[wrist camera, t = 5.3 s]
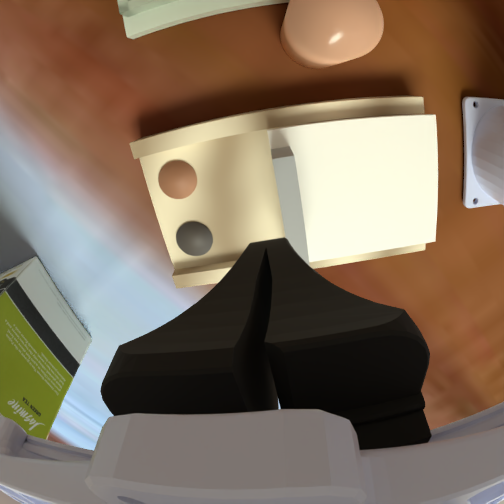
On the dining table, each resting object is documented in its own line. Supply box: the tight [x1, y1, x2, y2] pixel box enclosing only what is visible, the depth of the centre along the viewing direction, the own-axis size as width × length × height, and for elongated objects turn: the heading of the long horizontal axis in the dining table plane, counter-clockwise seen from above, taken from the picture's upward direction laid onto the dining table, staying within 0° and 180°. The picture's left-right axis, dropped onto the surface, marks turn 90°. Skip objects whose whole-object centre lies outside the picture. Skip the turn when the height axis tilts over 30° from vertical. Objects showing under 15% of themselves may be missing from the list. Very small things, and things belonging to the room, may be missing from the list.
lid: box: [267, 114, 438, 266], centre depth 16 cm, size 10×8×3 cm
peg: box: [280, 0, 384, 69], centre depth 12 cm, size 4×4×6 cm
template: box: [130, 96, 425, 288], centre depth 19 cm, size 17×10×2 cm, turn 101°
